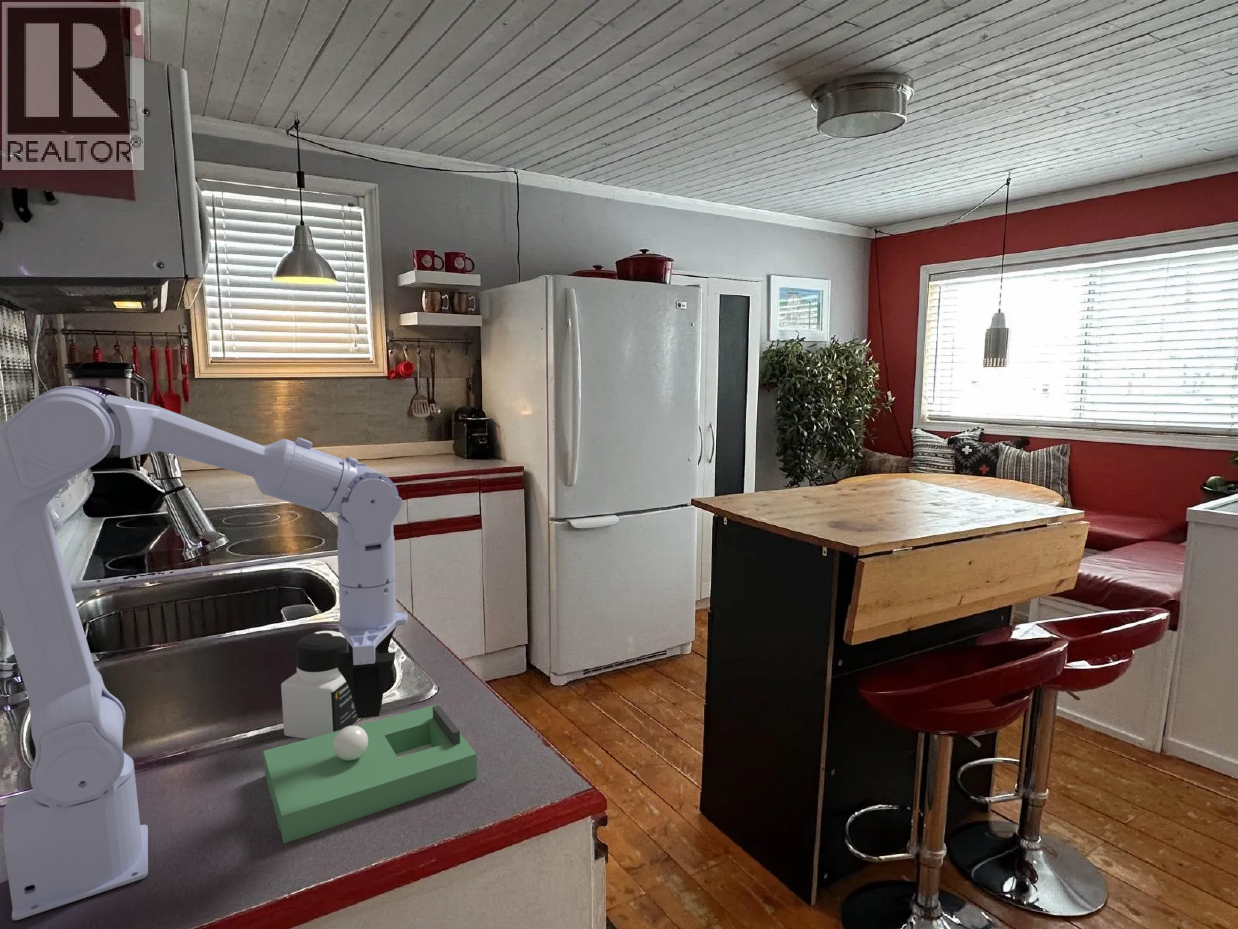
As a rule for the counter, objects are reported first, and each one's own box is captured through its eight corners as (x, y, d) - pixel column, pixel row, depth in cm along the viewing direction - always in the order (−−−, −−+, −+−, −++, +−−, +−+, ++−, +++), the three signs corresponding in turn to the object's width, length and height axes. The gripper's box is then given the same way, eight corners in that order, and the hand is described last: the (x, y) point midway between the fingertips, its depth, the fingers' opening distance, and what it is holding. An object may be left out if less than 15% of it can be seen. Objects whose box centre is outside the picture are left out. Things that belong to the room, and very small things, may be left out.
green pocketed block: (283, 843, 68) (280, 802, 68) (264, 775, 79) (262, 738, 78) (476, 778, 79) (476, 741, 79) (437, 725, 90) (436, 693, 89)
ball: (338, 771, 75) (336, 740, 75) (330, 754, 78) (329, 725, 78) (372, 761, 77) (371, 730, 77) (364, 745, 80) (362, 716, 80)
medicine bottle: (334, 744, 86) (330, 651, 84) (282, 737, 87) (277, 645, 85) (366, 714, 92) (363, 628, 90) (318, 708, 94) (313, 623, 92)
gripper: (405, 600, 69) (408, 728, 71) (407, 557, 83) (410, 665, 85) (328, 605, 67) (333, 736, 69) (343, 561, 81) (347, 671, 83)
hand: (371, 698), depth 77 cm, fingers open, 7 cm apart
